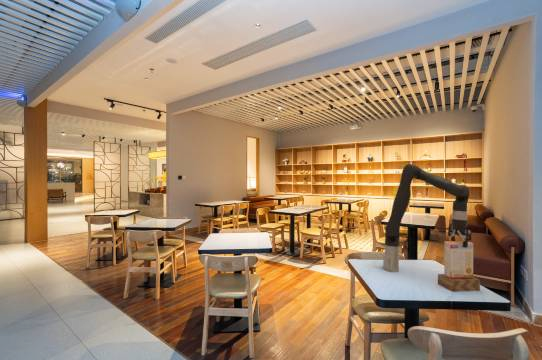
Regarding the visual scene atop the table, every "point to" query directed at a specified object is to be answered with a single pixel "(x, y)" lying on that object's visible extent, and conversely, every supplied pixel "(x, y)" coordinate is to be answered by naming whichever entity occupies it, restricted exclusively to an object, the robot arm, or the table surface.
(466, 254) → the cracker box
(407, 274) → the table surface
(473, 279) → the walnut block
